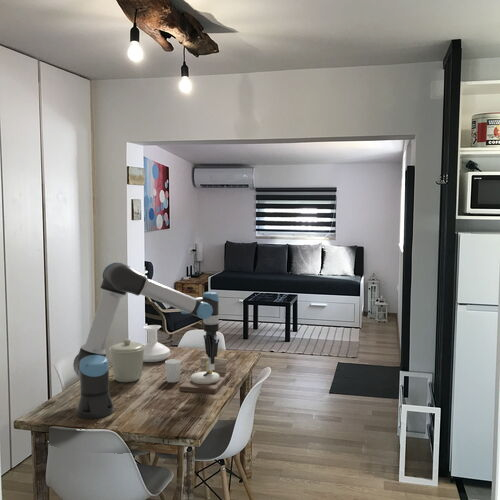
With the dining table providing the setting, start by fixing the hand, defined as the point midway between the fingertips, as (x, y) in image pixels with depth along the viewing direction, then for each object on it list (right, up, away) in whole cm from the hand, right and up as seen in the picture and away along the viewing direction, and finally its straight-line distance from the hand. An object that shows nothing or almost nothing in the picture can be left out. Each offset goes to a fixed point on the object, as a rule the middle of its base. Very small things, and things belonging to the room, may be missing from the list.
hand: (211, 369), depth 262 cm
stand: (-3, -7, 0) cm, 7 cm away
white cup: (-20, -7, +4) cm, 21 cm away
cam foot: (-3, -4, -3) cm, 6 cm away
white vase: (-37, -4, +42) cm, 57 cm away
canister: (-43, -7, +6) cm, 44 cm away
